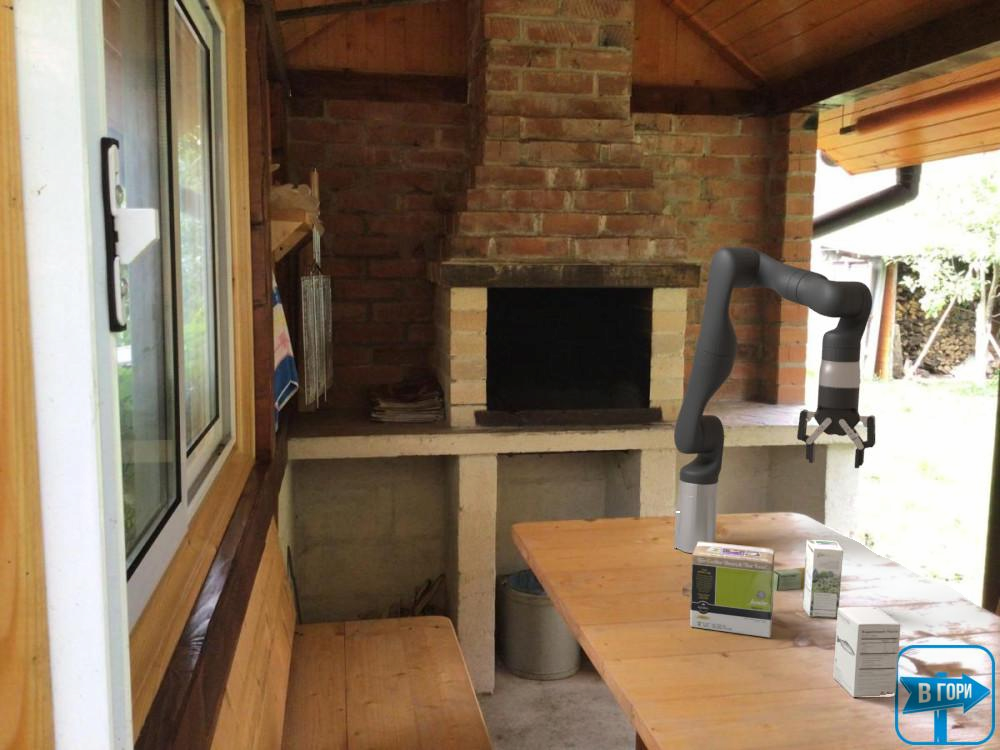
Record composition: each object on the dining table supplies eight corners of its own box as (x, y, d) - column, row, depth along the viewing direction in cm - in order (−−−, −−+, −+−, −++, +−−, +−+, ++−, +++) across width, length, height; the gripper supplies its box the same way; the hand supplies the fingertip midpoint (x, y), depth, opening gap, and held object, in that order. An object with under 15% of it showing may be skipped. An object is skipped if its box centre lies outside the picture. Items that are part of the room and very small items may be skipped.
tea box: (772, 620, 173) (776, 547, 171) (770, 640, 164) (774, 563, 162) (694, 609, 178) (697, 538, 176) (688, 628, 169) (691, 553, 167)
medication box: (776, 592, 189) (777, 574, 188) (768, 587, 191) (770, 570, 191) (823, 586, 193) (824, 569, 192) (814, 582, 195) (816, 565, 195)
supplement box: (831, 678, 148) (836, 606, 147) (873, 677, 149) (878, 605, 148) (852, 699, 141) (857, 623, 140) (896, 698, 142) (902, 622, 140)
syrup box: (830, 608, 180) (835, 539, 178) (839, 619, 174) (843, 548, 172) (802, 606, 180) (806, 538, 178) (809, 618, 174) (813, 547, 173)
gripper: (797, 382, 172) (793, 464, 174) (875, 388, 165) (870, 473, 167) (804, 379, 179) (800, 457, 181) (880, 384, 172) (875, 465, 174)
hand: (834, 464), depth 174 cm, fingers open, 8 cm apart
